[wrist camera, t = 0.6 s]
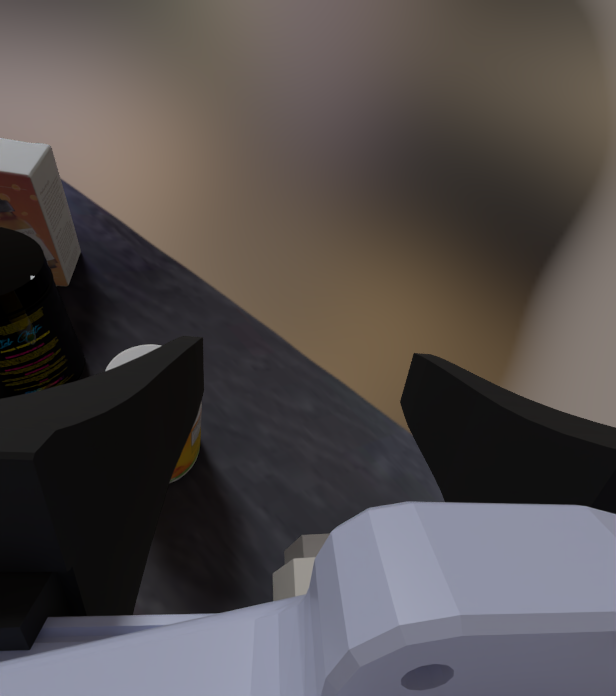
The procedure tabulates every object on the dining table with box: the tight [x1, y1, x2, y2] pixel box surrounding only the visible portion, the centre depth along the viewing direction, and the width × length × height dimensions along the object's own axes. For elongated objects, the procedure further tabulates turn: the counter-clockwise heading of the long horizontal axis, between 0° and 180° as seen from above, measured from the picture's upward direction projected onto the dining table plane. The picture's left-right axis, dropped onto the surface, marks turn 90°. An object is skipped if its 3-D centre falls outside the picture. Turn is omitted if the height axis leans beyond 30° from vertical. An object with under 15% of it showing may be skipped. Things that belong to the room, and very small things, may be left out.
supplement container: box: [0, 227, 85, 399], centre depth 22 cm, size 7×7×10 cm
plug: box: [273, 534, 330, 601], centre depth 19 cm, size 5×4×6 cm
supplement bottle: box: [105, 345, 202, 484], centre depth 21 cm, size 5×5×10 cm
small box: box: [0, 138, 81, 286], centre depth 28 cm, size 8×6×10 cm
